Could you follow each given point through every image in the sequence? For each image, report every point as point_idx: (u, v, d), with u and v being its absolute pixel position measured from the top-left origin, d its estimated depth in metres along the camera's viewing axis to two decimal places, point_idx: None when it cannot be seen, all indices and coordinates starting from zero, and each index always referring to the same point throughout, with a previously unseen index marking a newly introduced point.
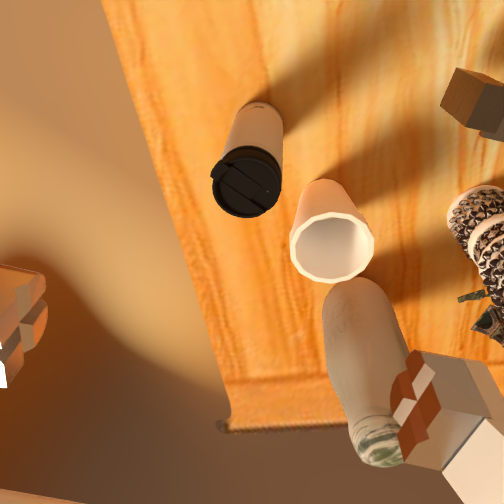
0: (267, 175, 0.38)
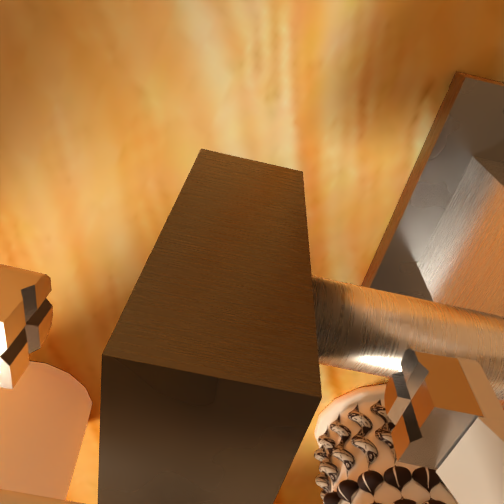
0: None
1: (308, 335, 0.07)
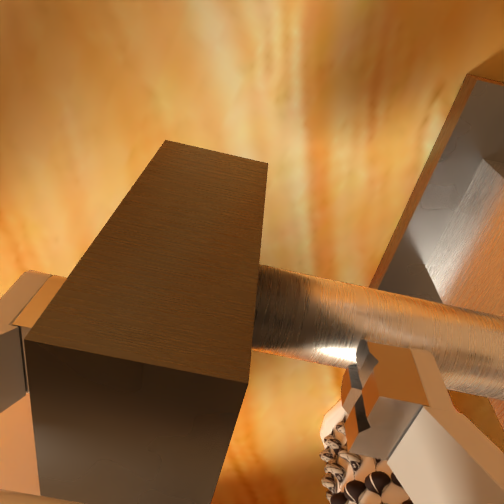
0: None
1: (245, 322, 0.07)
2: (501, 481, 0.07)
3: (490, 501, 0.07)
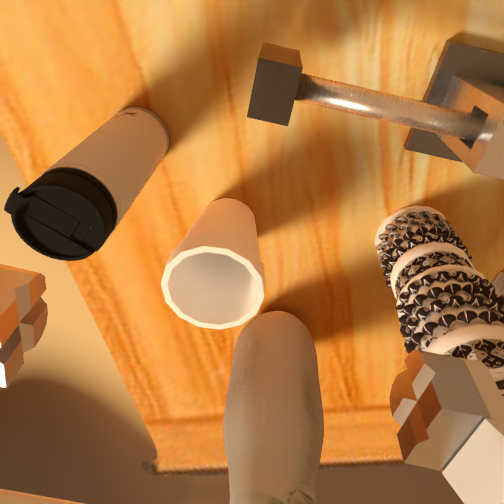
0: (83, 207, 0.29)
1: (300, 64, 0.30)
2: None
3: None
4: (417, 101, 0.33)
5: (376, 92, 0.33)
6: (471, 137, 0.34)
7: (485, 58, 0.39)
